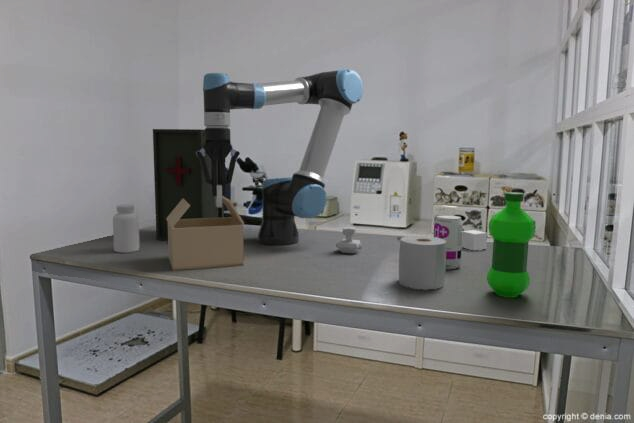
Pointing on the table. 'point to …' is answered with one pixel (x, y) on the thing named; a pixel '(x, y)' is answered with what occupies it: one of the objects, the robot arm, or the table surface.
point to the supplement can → (450, 238)
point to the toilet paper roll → (422, 262)
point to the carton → (205, 243)
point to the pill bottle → (126, 229)
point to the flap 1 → (177, 213)
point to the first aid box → (182, 177)
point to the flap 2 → (232, 209)
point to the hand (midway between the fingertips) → (219, 206)
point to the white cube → (474, 240)
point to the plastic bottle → (510, 247)
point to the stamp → (349, 241)
